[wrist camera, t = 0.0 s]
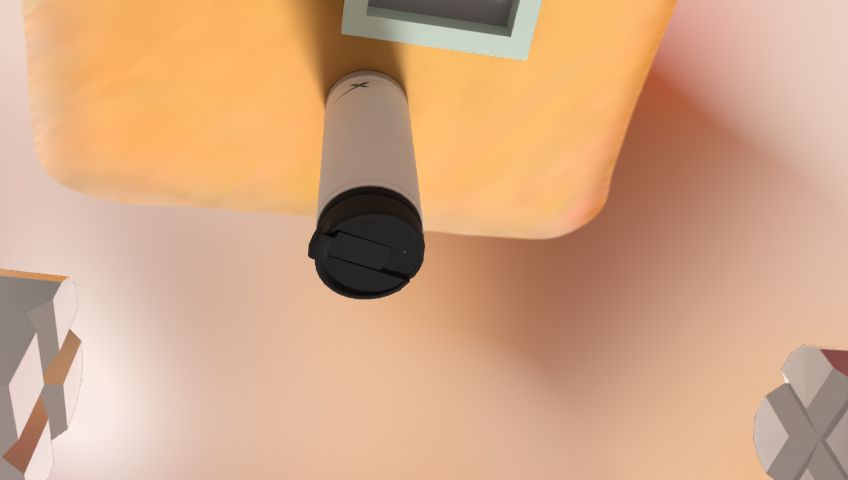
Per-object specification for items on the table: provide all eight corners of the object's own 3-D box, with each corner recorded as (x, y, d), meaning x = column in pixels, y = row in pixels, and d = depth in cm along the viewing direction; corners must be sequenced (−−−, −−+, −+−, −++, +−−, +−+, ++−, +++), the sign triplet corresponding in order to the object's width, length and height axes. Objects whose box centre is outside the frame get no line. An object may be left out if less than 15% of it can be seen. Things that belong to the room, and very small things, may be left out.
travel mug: (339, 54, 57) (333, 198, 40) (421, 88, 59) (447, 239, 42) (309, 125, 60) (290, 287, 43) (388, 155, 62) (399, 321, 45)
